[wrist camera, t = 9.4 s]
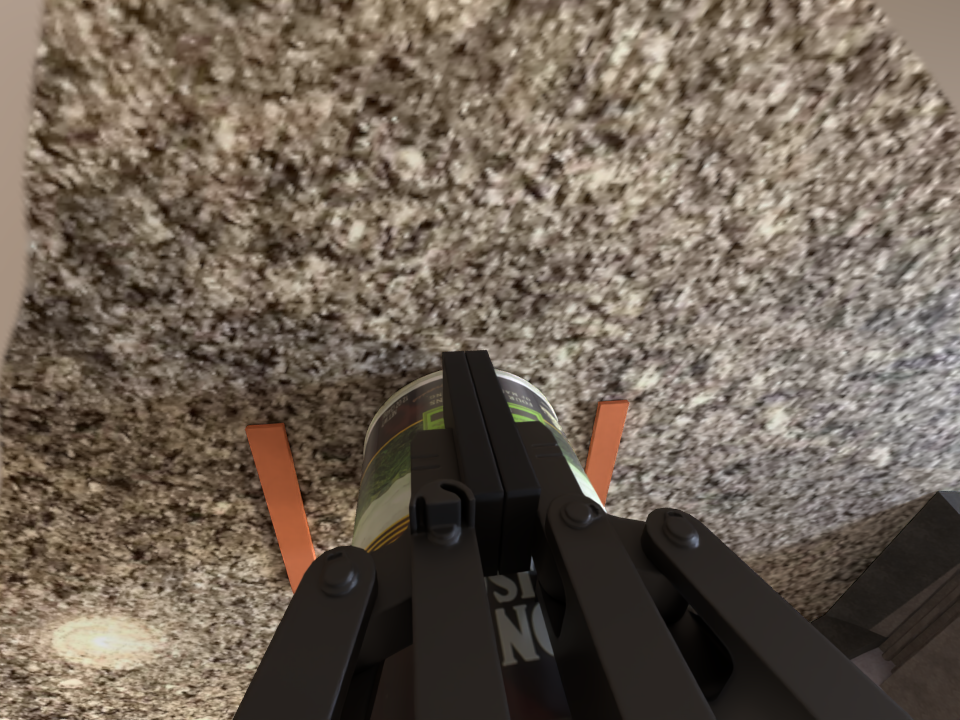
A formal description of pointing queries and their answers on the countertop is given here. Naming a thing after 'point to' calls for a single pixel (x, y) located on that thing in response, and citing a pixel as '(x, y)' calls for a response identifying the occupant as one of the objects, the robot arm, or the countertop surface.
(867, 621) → the machine
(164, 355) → the countertop surface
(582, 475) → the coffee can
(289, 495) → the strips
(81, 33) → the countertop surface
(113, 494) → the countertop surface
